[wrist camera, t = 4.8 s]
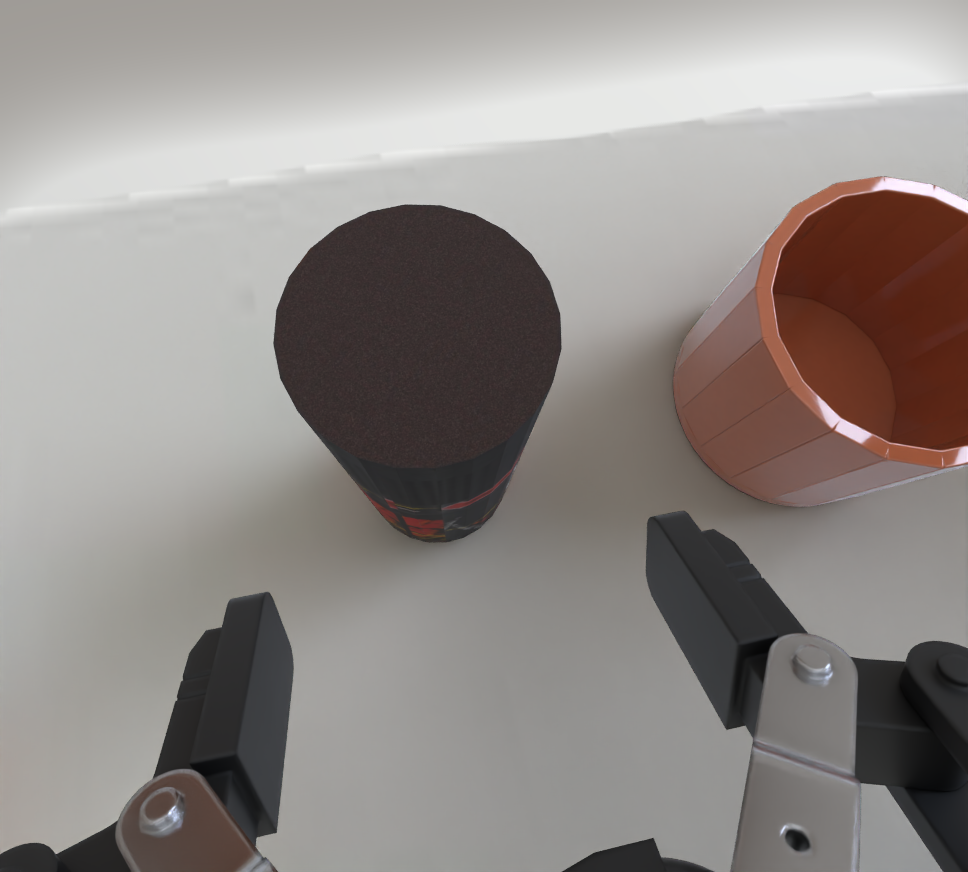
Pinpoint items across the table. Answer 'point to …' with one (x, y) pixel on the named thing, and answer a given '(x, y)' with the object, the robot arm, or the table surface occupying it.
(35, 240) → the table surface
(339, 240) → the deodorant
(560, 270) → the table surface
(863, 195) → the cup
